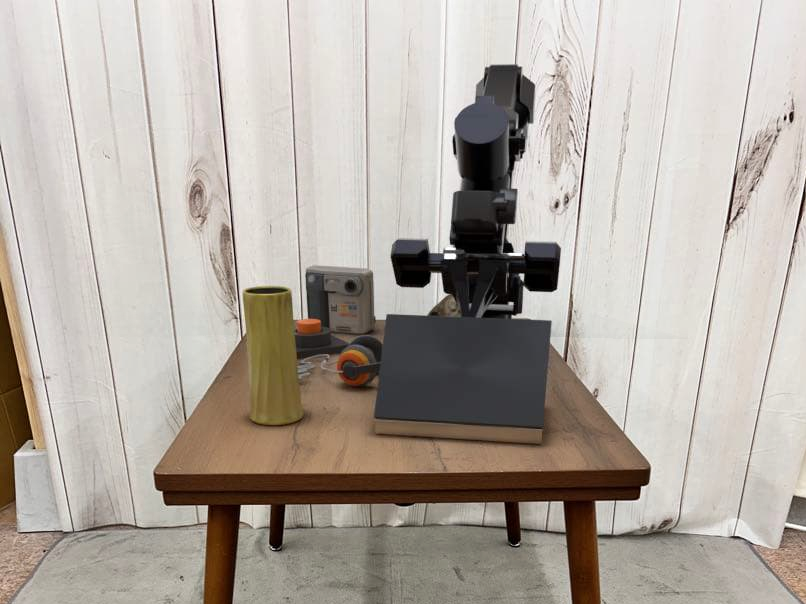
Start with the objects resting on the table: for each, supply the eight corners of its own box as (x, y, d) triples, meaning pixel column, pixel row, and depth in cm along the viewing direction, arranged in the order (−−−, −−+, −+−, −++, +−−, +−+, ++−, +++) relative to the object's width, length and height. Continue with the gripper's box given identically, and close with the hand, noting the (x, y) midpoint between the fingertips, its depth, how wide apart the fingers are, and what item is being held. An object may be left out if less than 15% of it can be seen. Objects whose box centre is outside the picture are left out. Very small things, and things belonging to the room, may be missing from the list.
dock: (329, 341, 123) (328, 322, 122) (351, 352, 117) (350, 332, 116) (269, 348, 119) (267, 328, 117) (289, 360, 113) (288, 339, 111)
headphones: (295, 341, 112) (430, 313, 107) (305, 376, 114) (437, 351, 109) (255, 373, 97) (409, 343, 92) (268, 413, 99) (419, 386, 94)
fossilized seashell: (492, 318, 127) (460, 317, 136) (473, 283, 124) (441, 284, 132) (460, 347, 126) (429, 344, 134) (440, 312, 122) (409, 312, 131)
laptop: (395, 401, 96) (395, 387, 95) (543, 409, 93) (544, 395, 92) (375, 433, 85) (375, 418, 85) (541, 444, 83) (542, 429, 82)
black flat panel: (387, 317, 87) (386, 313, 86) (551, 324, 84) (551, 320, 83) (375, 419, 85) (373, 417, 84) (542, 430, 82) (542, 427, 81)
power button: (315, 329, 119) (314, 317, 118) (325, 334, 116) (324, 322, 115) (293, 332, 117) (292, 320, 117) (302, 336, 115) (302, 324, 114)
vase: (252, 409, 93) (241, 285, 86) (304, 408, 93) (296, 284, 87) (247, 426, 87) (235, 295, 81) (302, 425, 88) (294, 294, 81)
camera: (302, 330, 130) (299, 267, 125) (319, 324, 134) (316, 263, 130) (364, 337, 126) (363, 272, 121) (379, 329, 131) (378, 267, 126)
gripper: (393, 158, 84) (373, 282, 80) (568, 160, 81) (558, 288, 77) (405, 228, 95) (388, 341, 90) (561, 232, 92) (552, 348, 87)
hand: (468, 330), depth 86 cm, fingers closed, pressing on black flat panel
